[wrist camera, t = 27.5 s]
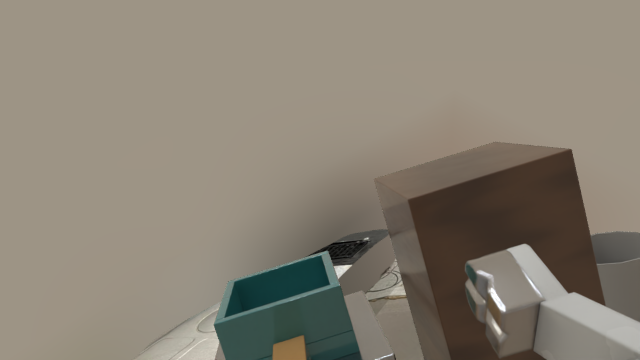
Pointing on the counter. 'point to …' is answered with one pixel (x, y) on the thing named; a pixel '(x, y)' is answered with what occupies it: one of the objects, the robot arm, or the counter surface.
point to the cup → (619, 270)
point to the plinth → (483, 234)
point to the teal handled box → (286, 314)
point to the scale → (359, 332)
